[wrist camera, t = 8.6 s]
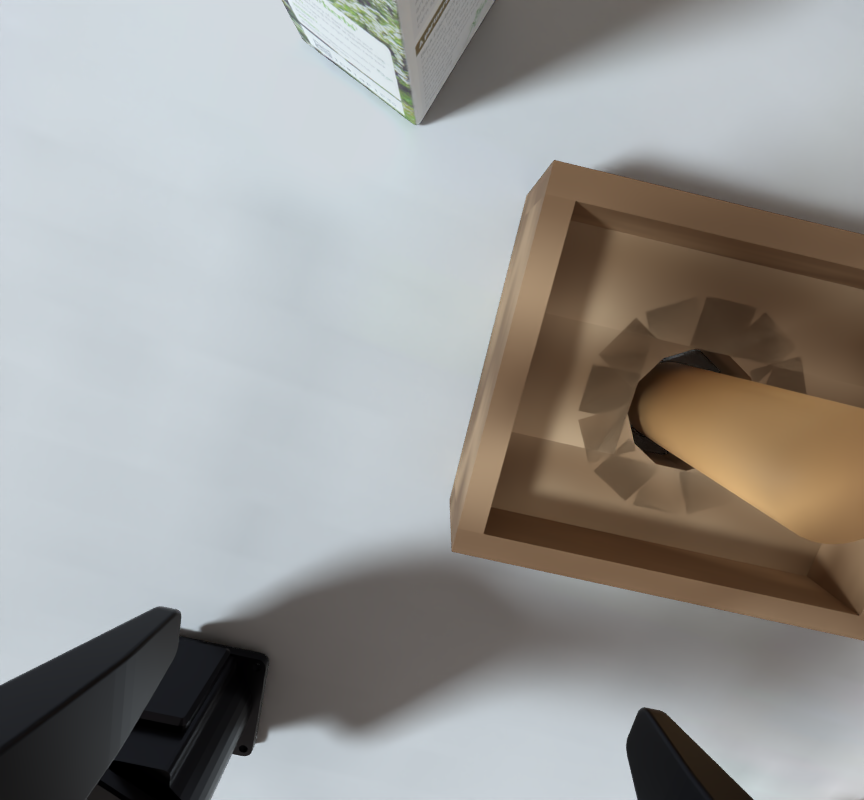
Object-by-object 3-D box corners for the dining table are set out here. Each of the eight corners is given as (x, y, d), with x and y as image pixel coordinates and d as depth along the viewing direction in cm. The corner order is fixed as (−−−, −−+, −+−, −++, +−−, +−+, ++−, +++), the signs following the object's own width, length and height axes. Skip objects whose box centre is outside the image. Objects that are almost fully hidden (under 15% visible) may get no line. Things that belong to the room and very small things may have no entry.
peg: (689, 446, 20) (882, 556, 11) (615, 429, 20) (750, 528, 11) (717, 372, 19) (947, 428, 11) (639, 354, 19) (806, 395, 10)
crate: (784, 573, 21) (873, 642, 17) (449, 499, 21) (451, 551, 17) (914, 288, 18) (1063, 282, 14) (526, 195, 18) (554, 159, 14)
